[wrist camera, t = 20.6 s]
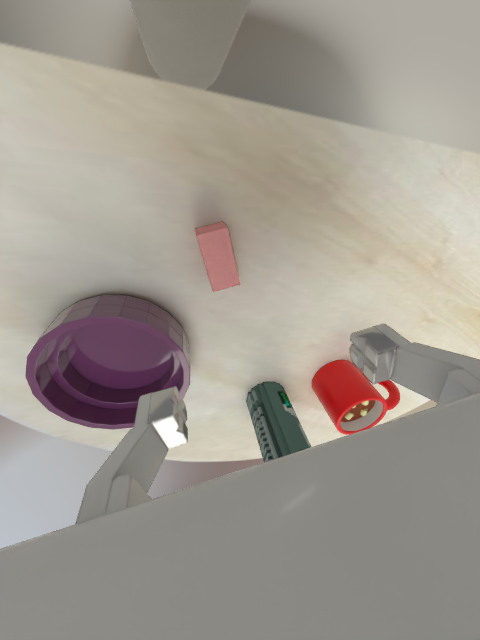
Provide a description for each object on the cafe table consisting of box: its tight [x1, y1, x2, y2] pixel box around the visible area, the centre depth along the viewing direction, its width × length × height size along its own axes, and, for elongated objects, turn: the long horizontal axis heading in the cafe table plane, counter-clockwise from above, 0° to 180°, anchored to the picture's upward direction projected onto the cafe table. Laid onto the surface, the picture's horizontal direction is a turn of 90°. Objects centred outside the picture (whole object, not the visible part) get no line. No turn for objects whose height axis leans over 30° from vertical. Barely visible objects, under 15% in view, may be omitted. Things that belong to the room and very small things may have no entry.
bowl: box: [26, 295, 190, 429], centre depth 29 cm, size 16×16×6 cm
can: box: [246, 382, 311, 462], centre depth 35 cm, size 6×6×15 cm
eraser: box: [195, 221, 240, 292], centre depth 26 cm, size 6×3×3 cm, turn 12°
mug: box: [312, 360, 400, 435], centre depth 39 cm, size 8×12×8 cm, turn 98°
